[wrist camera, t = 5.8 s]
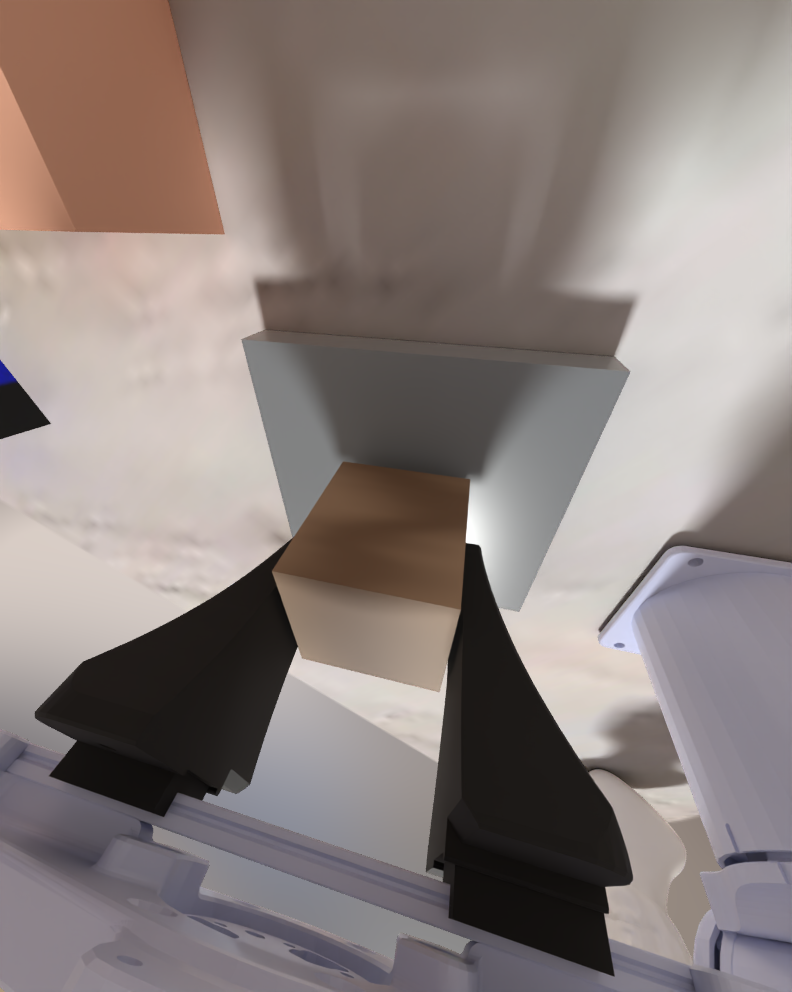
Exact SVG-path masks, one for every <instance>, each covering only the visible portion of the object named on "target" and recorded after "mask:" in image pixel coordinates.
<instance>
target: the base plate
mask: <svg viewBox="0 0 792 992" xmlns="http://www.w3.org/2000/svg"><path fill="white" fill-rule="evenodd" d="M241 340H242V343H243V347H244V351H245V355H246V359H247V363H248V367H249V371H250V374H251V378H252V382H253V386H254V390H255V394H256V398H257V402H258V405H259V409H260V413H261V417H262V421H263V425H264V429H265V433H266V436H267V440H268V444H269V448H270V452H271V456H272V460H273V464H274V467H275V471H276V475H277V479H278V483H279V487H280V491H281V495H282V498H283V502H284V506H285V510H286V514H287V518H288V522H289V526H290V529H291V533H292V537H294V536H295V535H296V533H297V532H298V530H299V528H300V527H301V525H302V524H303V522H304V521H305V519H306V518H307V516H308V515H309V513H310V512H311V510H312V508H313V507H314V505H315V504H316V502H317V501H318V499H319V498H320V496H321V495H322V493H323V491H324V490H325V488H326V487H327V485H328V484H329V482H330V481H331V479H332V478H333V476H334V475H335V473H336V471H337V470H338V468H339V467H340V465H341V464H342V462H343V461H344V462H351V463H358V464H365V465H373V466H380V467H387V468H394V469H401V470H408V471H415V472H422V473H429V474H436V475H443V476H450V477H457V478H465V479H470V491H469V504H468V518H467V532H466V543H470V544H476V545H479V546H480V547H481V551H482V556H483V561H484V565H485V569H486V573H487V576H488V580H489V583H490V586H491V589H492V592H493V595H494V598H495V600H496V603H497V606H498V608H503V609H508V610H513V611H518V612H519V611H520V609H521V607H522V605H523V603H524V600H525V598H526V596H527V594H528V592H529V590H530V588H531V585H532V583H533V581H534V579H535V577H536V575H537V572H538V570H539V568H540V566H541V564H542V562H543V559H544V557H545V555H546V553H547V551H548V549H549V546H550V544H551V542H552V540H553V538H554V536H555V534H556V531H557V529H558V527H559V525H560V523H561V521H562V518H563V516H564V514H565V512H566V510H567V508H568V505H569V503H570V501H571V499H572V497H573V495H574V493H575V490H576V488H577V486H578V484H579V482H580V480H581V477H582V475H583V473H584V471H585V469H586V467H587V464H588V462H589V460H590V458H591V456H592V454H593V452H594V449H595V447H596V445H597V443H598V441H599V439H600V436H601V434H602V432H603V430H604V428H605V426H606V423H607V421H608V419H609V417H610V415H611V413H612V410H613V408H614V406H615V404H616V402H617V400H618V398H619V395H620V393H621V391H622V389H623V387H624V385H625V382H626V380H627V378H628V376H629V374H630V371H629V370H628V369H627V368H626V367H625V366H624V365H623V364H622V363H621V362H620V361H619V360H618V359H616V358H615V357H613V356H600V355H587V354H574V353H561V352H548V351H535V350H522V349H509V348H496V347H483V346H470V345H457V344H444V343H431V342H418V341H405V340H392V339H379V338H366V337H353V336H340V335H327V334H314V333H301V332H288V331H275V330H263V331H261V332H258V333H256V334H253V335H251V336H249V337H246V338H244V339H241Z"/></svg>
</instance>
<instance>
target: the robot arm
mask: <svg viewBox="0 0 792 992" xmlns="http://www.w3.org/2000/svg"><path fill="white" fill-rule="evenodd" d="M293 538H294V537H293ZM293 538H292V539H293ZM292 539H291V540H290V541H288V542H287V543H286V544H285V545H284V546H282V547H281V548H280V549H279V550H278V551H276V552H275V553H274V554H273V555H271V556H270V557H269V558H268V559H266V560H265V561H264V562H263V563H261V564H260V565H259V566H257V567H256V568H255V569H253V570H252V571H251V572H249V573H248V574H247V575H245V576H244V577H242V578H241V579H240V580H238V581H237V582H235V583H234V584H232V585H231V586H229V587H228V588H226V589H225V590H223V591H222V592H220V593H219V594H217V595H216V596H214V597H212V598H211V599H209V600H207V601H206V602H204V603H202V604H201V605H199V606H197V607H195V608H194V609H192V610H190V611H188V612H187V613H185V614H183V615H181V616H180V617H178V618H176V619H174V620H172V621H170V622H168V623H166V624H164V625H162V626H160V627H159V628H156V629H154V630H153V631H150V632H148V633H146V634H144V635H142V636H140V637H138V638H136V639H134V640H132V641H130V642H127V643H125V644H123V645H120V646H118V647H116V648H114V649H111V650H109V651H107V652H104V653H102V654H100V655H98V656H95V657H93V658H91V659H88V660H86V661H84V662H82V663H81V664H80V665H79V666H78V667H77V668H76V669H75V670H74V672H73V673H72V674H71V675H70V676H69V677H68V678H67V679H66V680H65V681H64V682H63V683H62V684H61V685H60V686H59V687H58V688H57V689H56V690H55V691H54V692H53V694H52V695H51V696H50V697H49V698H48V699H47V700H46V701H45V702H44V703H43V704H42V705H41V706H40V707H39V708H38V709H37V710H36V711H35V718H36V719H37V720H39V721H40V722H42V723H44V724H46V725H47V726H49V727H51V728H53V729H55V730H57V731H59V732H61V733H63V734H65V735H67V736H69V737H71V738H73V739H75V740H77V742H76V743H75V744H74V745H73V747H72V748H71V749H70V750H69V751H68V753H67V754H66V755H65V754H62V753H59V752H56V751H53V750H50V749H47V748H44V747H42V746H39V745H35V744H33V743H30V742H29V741H28V740H27V739H25V738H22V737H20V736H18V735H15V734H13V733H10V732H8V731H5V730H2V729H0V987H1V988H2V989H3V990H4V991H5V992H792V563H790V562H784V561H777V560H771V559H765V558H758V557H752V556H746V555H739V554H733V553H727V552H720V551H714V550H707V549H701V548H695V547H688V546H675V547H672V548H670V549H668V550H667V551H666V552H665V553H664V554H663V555H662V557H661V558H660V559H659V560H658V562H657V563H656V564H655V565H654V567H653V568H652V569H651V570H650V572H649V573H648V574H647V575H646V577H645V578H644V579H643V580H642V582H641V583H640V584H639V585H638V587H637V588H636V589H635V590H634V592H633V593H632V594H631V595H630V596H629V598H628V599H627V600H626V601H625V603H624V604H623V605H622V606H621V608H620V609H619V610H618V611H617V613H616V614H615V615H614V616H613V618H612V619H611V620H610V621H609V623H608V624H607V625H606V626H605V628H604V629H603V630H602V631H601V633H600V634H599V635H598V641H599V644H600V645H602V646H604V647H607V648H612V649H617V650H621V651H626V652H631V653H636V654H641V656H642V658H643V661H644V664H645V667H646V669H647V672H648V675H649V678H650V680H651V683H652V686H653V689H654V691H655V694H656V697H657V699H658V702H659V705H660V708H661V710H662V713H663V716H664V719H665V721H666V724H667V727H668V729H669V732H670V735H671V738H672V740H673V743H674V746H675V749H676V751H677V754H678V757H679V759H680V762H681V765H682V768H683V770H684V773H685V776H686V779H687V781H688V784H689V787H690V789H691V792H692V795H693V798H694V800H695V803H696V806H697V809H698V811H699V814H700V817H701V820H702V822H703V825H704V827H705V830H706V833H707V836H708V839H709V841H710V844H711V847H712V850H713V852H714V855H715V858H716V860H717V863H718V864H719V866H720V867H721V868H722V870H721V871H716V872H700V876H701V879H702V882H703V885H704V888H705V891H706V894H707V897H708V900H709V903H710V906H711V909H710V910H709V911H708V912H707V913H705V915H704V917H703V918H702V920H701V922H700V923H699V926H698V930H697V934H696V937H695V946H694V956H693V963H694V964H693V965H692V966H689V965H686V964H683V963H681V962H678V961H675V960H672V959H669V958H666V957H663V956H660V955H657V954H654V953H651V952H648V951H645V950H642V949H639V948H636V947H633V946H630V945H627V944H624V943H621V942H618V941H615V940H612V939H610V938H608V934H607V928H606V922H605V916H604V913H605V914H609V905H608V899H607V894H606V888H605V887H614V886H626V885H630V884H631V882H632V881H633V873H632V868H631V864H630V859H629V855H628V851H627V848H626V845H625V842H624V839H623V836H622V833H621V829H620V827H619V824H618V821H617V818H616V815H615V813H614V810H613V808H612V806H611V804H610V803H609V801H608V800H607V799H606V797H605V796H604V794H603V793H602V791H601V790H600V789H599V787H598V786H597V784H596V783H595V781H594V780H593V778H592V777H591V776H590V774H589V773H588V771H587V770H586V768H585V767H584V765H583V764H582V762H581V761H580V759H579V758H578V756H577V755H576V753H575V752H574V750H573V748H572V747H571V745H570V744H569V742H568V741H567V739H566V737H565V736H564V734H563V733H562V731H561V730H560V728H559V726H558V725H557V723H556V721H555V720H554V718H553V716H552V715H551V713H550V711H549V709H548V708H547V706H546V704H545V703H544V701H543V699H542V698H541V696H540V694H539V692H538V691H537V689H536V687H535V685H534V684H533V682H532V680H531V678H530V676H529V674H528V672H527V670H526V669H525V667H524V665H523V663H522V661H521V659H520V657H519V655H518V653H517V651H516V648H515V646H514V644H513V642H512V640H511V638H510V635H509V633H508V631H507V628H506V626H505V624H504V621H503V619H502V616H501V614H500V611H499V609H498V606H497V603H496V600H495V598H494V595H493V592H492V589H491V586H490V583H489V580H488V576H487V573H486V569H485V565H484V561H483V556H482V551H481V547H480V546H479V545H476V544H470V543H466V546H465V559H464V573H463V587H462V600H461V611H460V615H459V619H458V622H457V626H456V630H455V634H454V638H453V642H452V646H451V649H450V653H449V657H448V673H447V688H446V698H445V707H444V717H443V726H442V735H441V744H440V753H439V761H438V771H437V779H436V788H435V796H434V804H433V813H432V821H431V829H430V837H429V845H428V854H427V865H426V872H427V873H429V874H433V875H435V876H439V877H442V878H443V882H441V881H438V880H435V879H432V878H429V877H426V876H423V875H420V874H417V873H414V872H411V871H408V870H405V869H402V868H399V867H396V866H393V865H390V864H388V863H384V862H382V861H379V860H376V859H373V858H370V857H366V856H364V855H361V854H358V853H355V852H352V851H349V850H346V849H343V848H340V847H337V846H334V845H331V844H328V843H325V842H323V841H320V840H316V839H314V838H311V837H308V836H304V835H302V834H299V833H295V832H293V831H290V830H287V829H284V828H281V827H278V826H275V825H272V824H269V823H266V822H263V821H260V820H257V819H255V818H251V817H249V816H245V815H243V814H240V813H237V812H234V811H231V810H228V809H225V808H222V807H219V806H216V805H213V804H210V803H207V802H204V801H202V800H203V798H204V796H205V794H206V793H209V794H212V795H215V796H218V794H219V793H220V791H221V789H223V790H226V791H229V792H232V793H235V794H237V793H239V792H241V791H242V790H244V789H245V788H246V787H248V785H250V782H251V779H252V776H253V773H254V769H255V766H256V763H257V760H258V756H259V753H260V750H261V747H262V744H263V741H264V737H265V735H266V732H267V729H268V726H269V723H270V720H271V717H272V714H273V711H274V708H275V705H276V703H277V700H278V697H279V694H280V692H281V689H282V686H283V683H284V681H285V678H286V675H287V673H288V670H289V668H290V665H291V662H292V660H293V657H294V655H295V652H296V650H297V647H298V645H297V642H296V639H295V636H294V633H293V630H292V628H291V625H290V622H289V619H288V616H287V613H286V610H285V607H284V605H283V602H282V599H281V596H280V593H279V590H278V587H277V584H276V582H275V579H274V576H273V573H272V570H273V569H274V567H275V565H276V564H277V562H278V561H279V559H280V558H281V556H282V555H283V553H284V552H285V550H286V549H287V547H288V545H289V544H290V542H291V541H292ZM694 558H695V559H694ZM151 824H152V825H155V826H157V827H160V828H163V829H166V830H168V831H171V832H174V833H177V834H179V835H182V836H185V837H188V838H190V839H193V840H196V841H199V842H202V843H204V844H207V845H210V846H213V847H215V848H218V849H221V850H224V851H227V852H229V853H232V854H235V855H237V856H240V857H243V858H246V859H249V860H251V861H254V862H257V863H260V864H263V865H265V866H268V867H271V868H273V869H276V870H279V871H282V872H285V873H287V874H290V875H293V876H296V877H298V878H301V879H304V880H307V881H309V882H312V883H315V884H318V885H321V886H323V887H326V888H329V889H332V890H334V891H337V892H340V893H343V894H345V895H348V896H351V897H354V898H357V899H359V900H362V901H365V902H368V903H370V904H373V905H376V906H379V907H382V908H384V909H387V910H390V911H393V912H396V913H398V914H401V915H404V916H406V917H409V918H412V919H415V920H417V921H420V922H423V923H426V924H429V925H432V926H434V927H437V928H440V929H443V930H445V931H448V932H451V933H454V934H456V935H459V936H462V937H465V938H467V939H470V940H473V941H470V942H469V943H467V944H466V946H465V948H464V951H463V952H462V953H461V954H458V953H456V952H454V951H452V950H450V949H448V948H445V947H442V946H440V945H437V944H434V943H431V942H428V941H425V940H422V939H419V938H416V937H413V936H410V935H407V934H404V933H400V934H399V935H398V936H397V944H396V951H395V959H394V960H393V959H391V958H388V957H386V956H384V955H381V954H379V953H377V952H374V951H372V950H370V949H367V948H365V947H362V946H360V945H358V944H356V943H353V942H351V941H348V940H346V939H344V938H341V937H339V936H337V935H334V934H332V933H329V932H327V931H324V930H321V929H319V928H317V927H314V926H311V925H309V924H306V923H304V922H301V921H298V920H296V919H293V918H290V917H288V916H285V915H282V914H279V913H277V912H273V911H271V910H268V909H265V908H262V907H260V906H257V905H254V904H251V903H248V902H245V901H242V900H239V899H236V898H233V897H230V896H227V895H225V894H222V893H219V892H216V891H213V890H210V889H207V888H204V887H201V883H202V881H203V879H204V877H205V874H206V872H207V870H208V868H209V861H208V860H205V859H203V858H201V857H198V856H196V855H194V854H191V853H189V852H186V851H183V850H180V849H177V848H174V847H171V846H168V845H164V844H161V843H157V842H154V841H153V839H152V835H153V827H152V825H151Z"/></svg>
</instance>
